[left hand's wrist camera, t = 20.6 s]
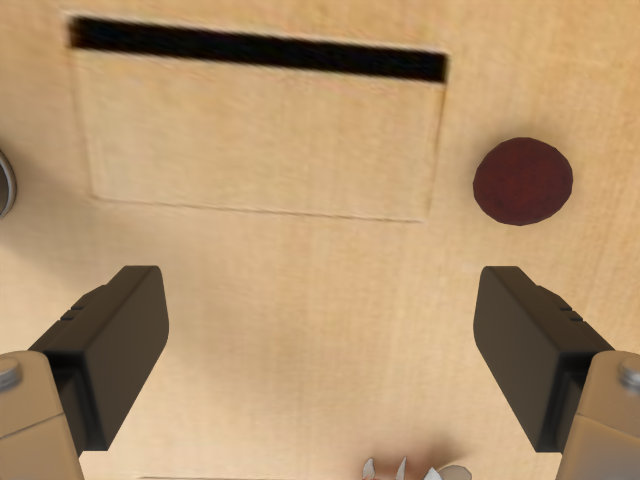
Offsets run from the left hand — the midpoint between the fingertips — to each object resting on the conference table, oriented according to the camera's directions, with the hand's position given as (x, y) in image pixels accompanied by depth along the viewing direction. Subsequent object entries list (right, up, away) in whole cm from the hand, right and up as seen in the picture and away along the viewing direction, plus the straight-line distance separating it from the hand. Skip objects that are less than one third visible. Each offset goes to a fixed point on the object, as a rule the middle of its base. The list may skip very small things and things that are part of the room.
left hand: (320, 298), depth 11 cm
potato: (+17, +8, +30) cm, 36 cm away
